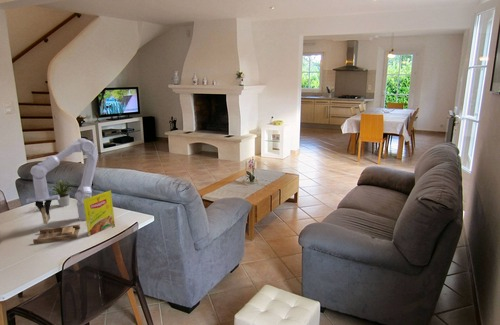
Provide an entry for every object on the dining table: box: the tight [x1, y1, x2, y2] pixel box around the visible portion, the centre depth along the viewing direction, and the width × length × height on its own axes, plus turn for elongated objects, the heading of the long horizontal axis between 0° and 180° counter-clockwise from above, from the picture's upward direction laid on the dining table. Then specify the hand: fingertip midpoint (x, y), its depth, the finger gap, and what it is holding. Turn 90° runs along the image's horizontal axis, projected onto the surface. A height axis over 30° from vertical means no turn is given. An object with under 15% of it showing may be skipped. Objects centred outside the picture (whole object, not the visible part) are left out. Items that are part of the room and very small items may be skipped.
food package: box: [83, 189, 116, 237], centre depth 175 cm, size 15×1×20 cm, turn 149°
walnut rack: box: [32, 224, 81, 245], centre depth 172 cm, size 18×12×3 cm, turn 106°
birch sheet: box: [40, 204, 51, 225], centre depth 179 cm, size 2×7×8 cm, turn 17°
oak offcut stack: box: [61, 225, 75, 236], centre depth 173 cm, size 5×8×2 cm, turn 16°
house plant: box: [49, 179, 75, 208], centre depth 210 cm, size 14×14×16 cm
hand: (45, 214), depth 179 cm, fingers closed on birch sheet, 1 cm apart
